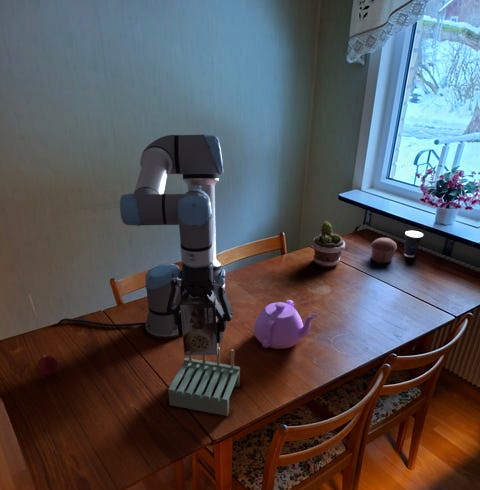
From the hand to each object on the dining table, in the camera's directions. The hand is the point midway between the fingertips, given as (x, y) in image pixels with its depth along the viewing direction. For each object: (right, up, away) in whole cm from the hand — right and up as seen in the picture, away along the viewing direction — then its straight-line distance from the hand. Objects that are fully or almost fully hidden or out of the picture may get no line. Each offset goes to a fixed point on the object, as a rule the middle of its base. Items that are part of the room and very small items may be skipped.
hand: (200, 337), depth 120 cm
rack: (0, -17, +12) cm, 21 cm away
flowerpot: (+51, +31, +87) cm, 105 cm away
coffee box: (0, -3, +2) cm, 4 cm away
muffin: (+78, +33, +91) cm, 124 cm away
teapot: (+26, -3, +35) cm, 44 cm away
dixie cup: (+92, +36, +95) cm, 137 cm away
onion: (-48, -13, +18) cm, 53 cm away
